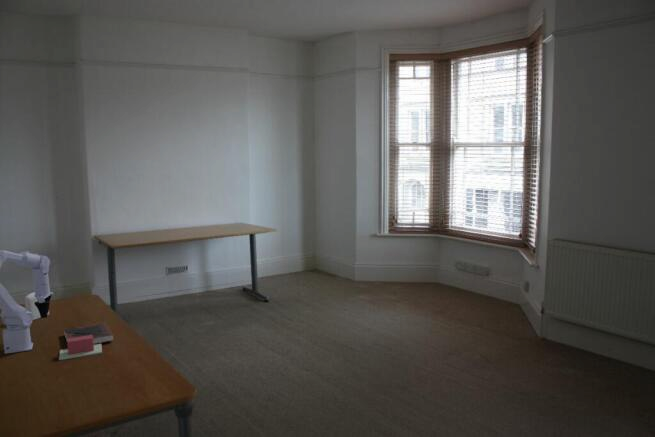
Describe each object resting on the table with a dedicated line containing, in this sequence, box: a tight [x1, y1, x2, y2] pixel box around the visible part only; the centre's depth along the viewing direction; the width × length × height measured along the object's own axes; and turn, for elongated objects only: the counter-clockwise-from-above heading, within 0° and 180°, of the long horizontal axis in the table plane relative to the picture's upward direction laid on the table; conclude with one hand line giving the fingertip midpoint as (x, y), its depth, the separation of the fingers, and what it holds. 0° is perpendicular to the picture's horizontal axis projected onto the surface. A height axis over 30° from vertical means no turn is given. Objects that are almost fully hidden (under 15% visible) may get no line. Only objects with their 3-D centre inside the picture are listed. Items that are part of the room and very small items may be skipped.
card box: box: [66, 335, 95, 355], centre depth 220 cm, size 9×4×5 cm, turn 113°
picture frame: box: [63, 322, 114, 345], centre depth 236 cm, size 16×2×22 cm
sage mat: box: [58, 343, 103, 361], centre depth 221 cm, size 15×10×1 cm, turn 113°
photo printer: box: [23, 291, 50, 321], centre depth 267 cm, size 10×4×12 cm, turn 152°
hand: (45, 315), depth 239 cm, fingers open, 7 cm apart
